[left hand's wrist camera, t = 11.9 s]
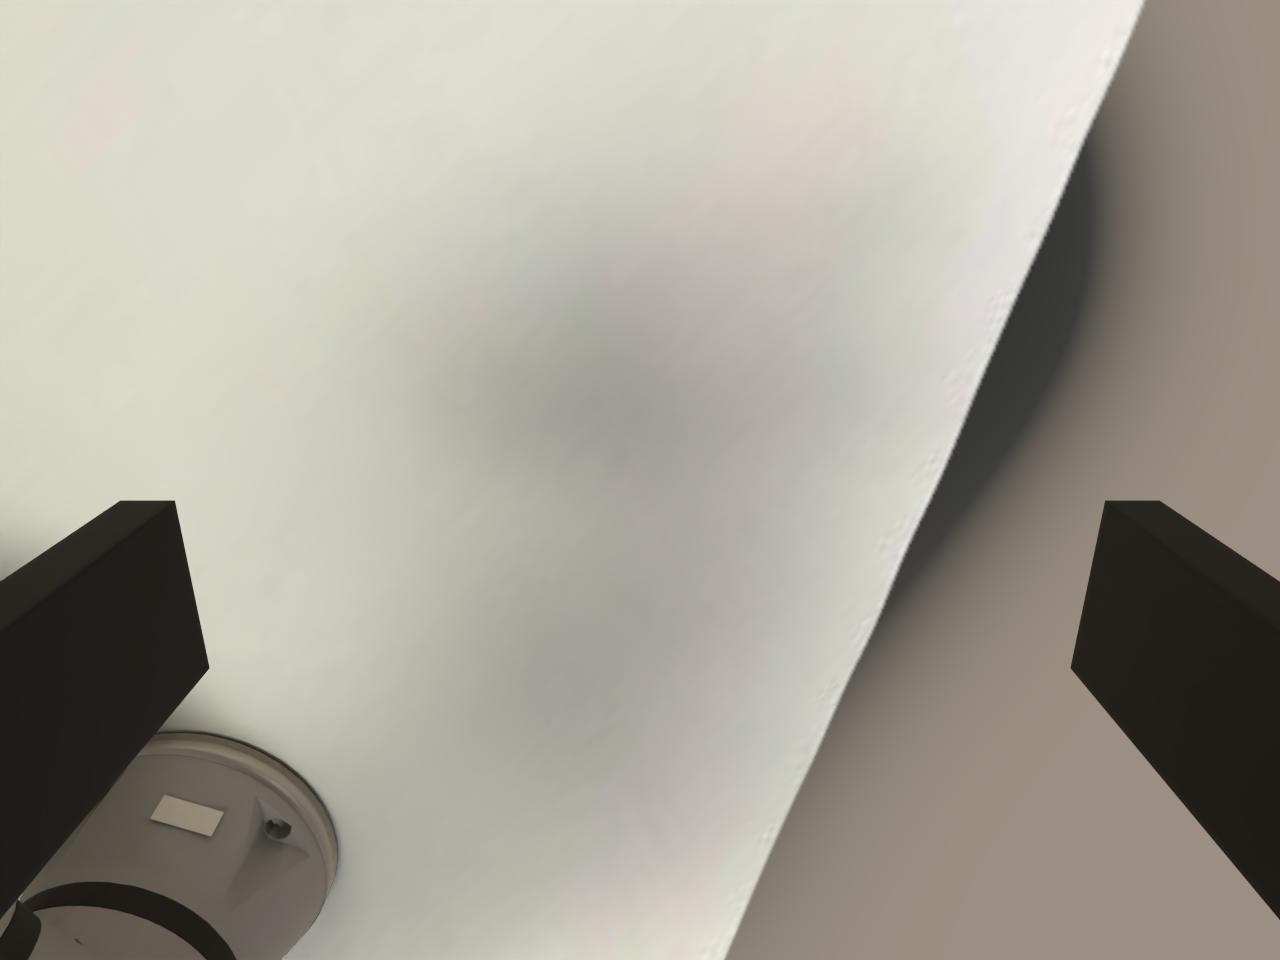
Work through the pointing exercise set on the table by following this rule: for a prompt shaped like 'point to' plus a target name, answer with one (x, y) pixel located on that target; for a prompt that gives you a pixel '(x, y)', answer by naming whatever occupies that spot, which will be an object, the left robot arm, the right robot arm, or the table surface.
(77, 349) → the table surface
